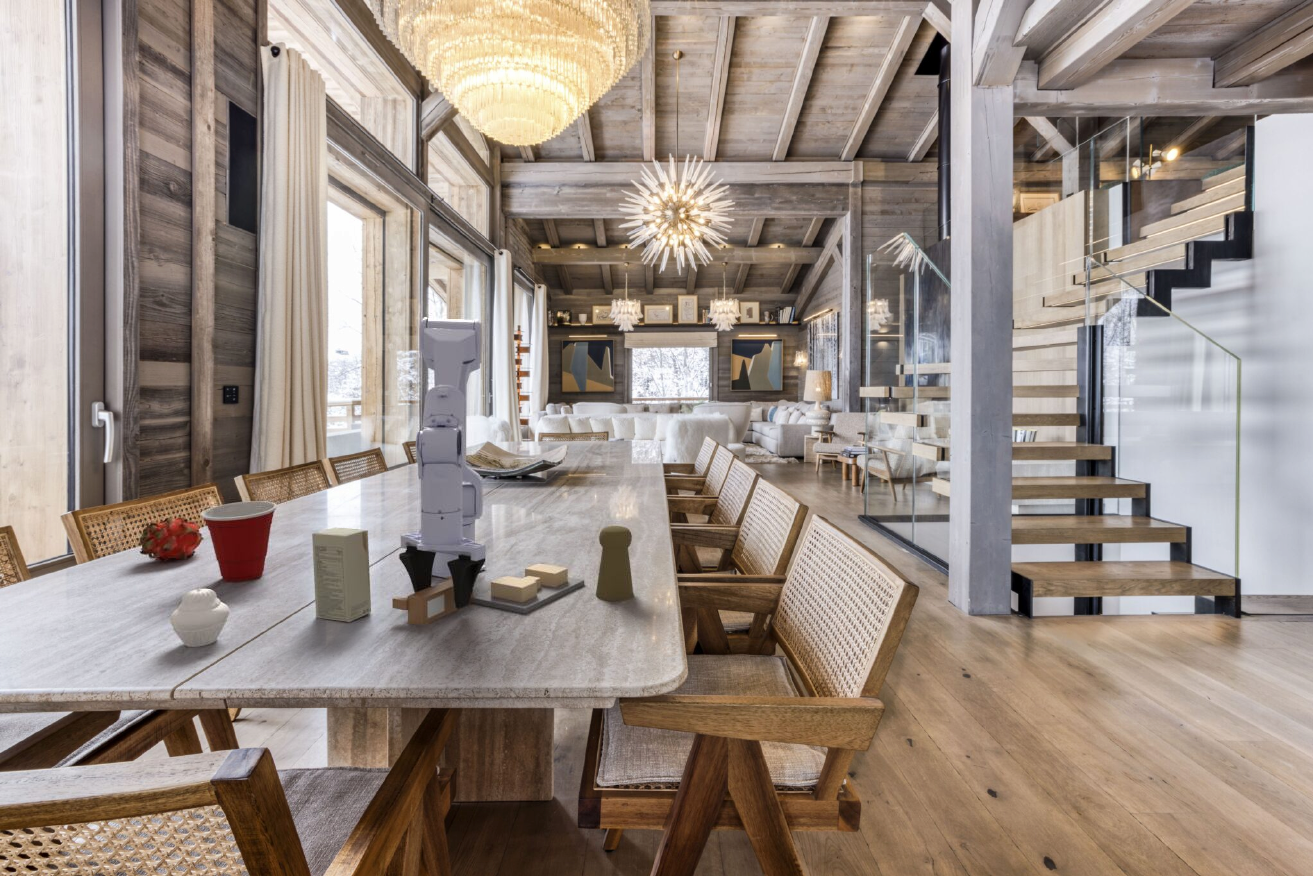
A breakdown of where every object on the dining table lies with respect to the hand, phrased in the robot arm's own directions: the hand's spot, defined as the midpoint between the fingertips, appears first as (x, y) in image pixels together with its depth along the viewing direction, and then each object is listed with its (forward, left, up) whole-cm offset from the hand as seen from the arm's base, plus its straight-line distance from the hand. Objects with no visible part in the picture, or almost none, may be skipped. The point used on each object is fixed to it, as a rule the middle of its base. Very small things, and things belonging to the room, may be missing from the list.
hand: (442, 602), depth 94 cm
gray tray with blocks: (+6, +13, -1) cm, 14 cm away
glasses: (-1, 0, -2) cm, 2 cm away
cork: (+18, +19, -2) cm, 26 cm away
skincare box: (-11, -8, -2) cm, 14 cm away
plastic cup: (-41, -4, -2) cm, 41 cm away
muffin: (-18, -23, -2) cm, 29 cm away
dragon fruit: (-63, -3, -2) cm, 63 cm away
